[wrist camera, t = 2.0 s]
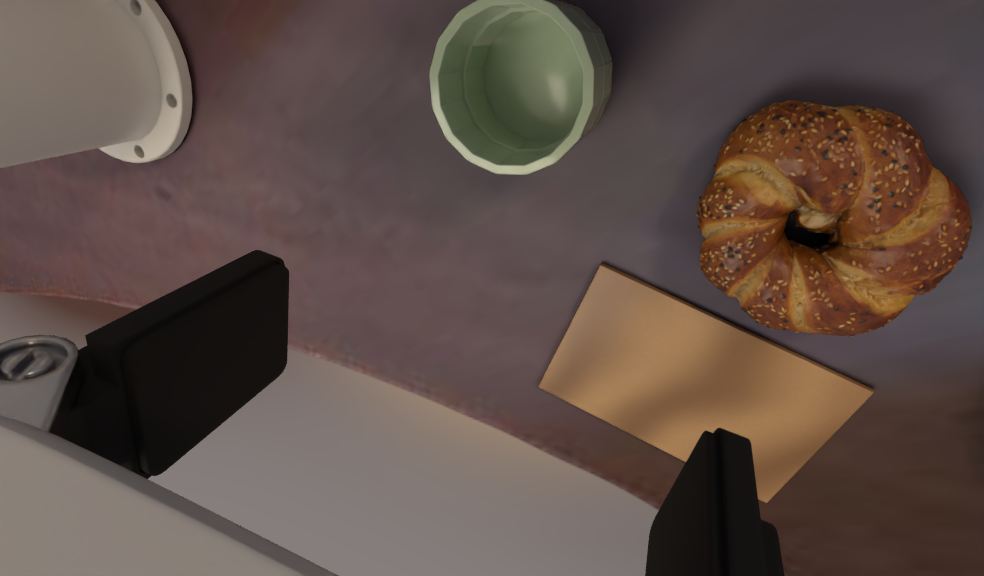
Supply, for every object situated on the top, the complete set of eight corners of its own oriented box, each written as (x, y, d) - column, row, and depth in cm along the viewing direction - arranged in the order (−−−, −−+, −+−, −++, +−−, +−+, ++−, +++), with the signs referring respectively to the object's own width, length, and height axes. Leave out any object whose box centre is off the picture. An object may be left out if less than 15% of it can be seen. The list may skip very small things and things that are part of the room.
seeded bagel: (651, 159, 28) (645, 176, 25) (895, 36, 23) (927, 37, 19) (745, 347, 30) (750, 383, 27) (983, 275, 25) (1024, 311, 22)
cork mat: (539, 383, 36) (537, 387, 36) (601, 262, 31) (600, 264, 31) (766, 498, 34) (766, 503, 34) (872, 388, 29) (874, 392, 29)
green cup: (460, 117, 30) (412, 136, 25) (502, -24, 27) (456, -36, 21) (578, 170, 29) (553, 200, 24) (639, 30, 26) (624, 32, 21)
